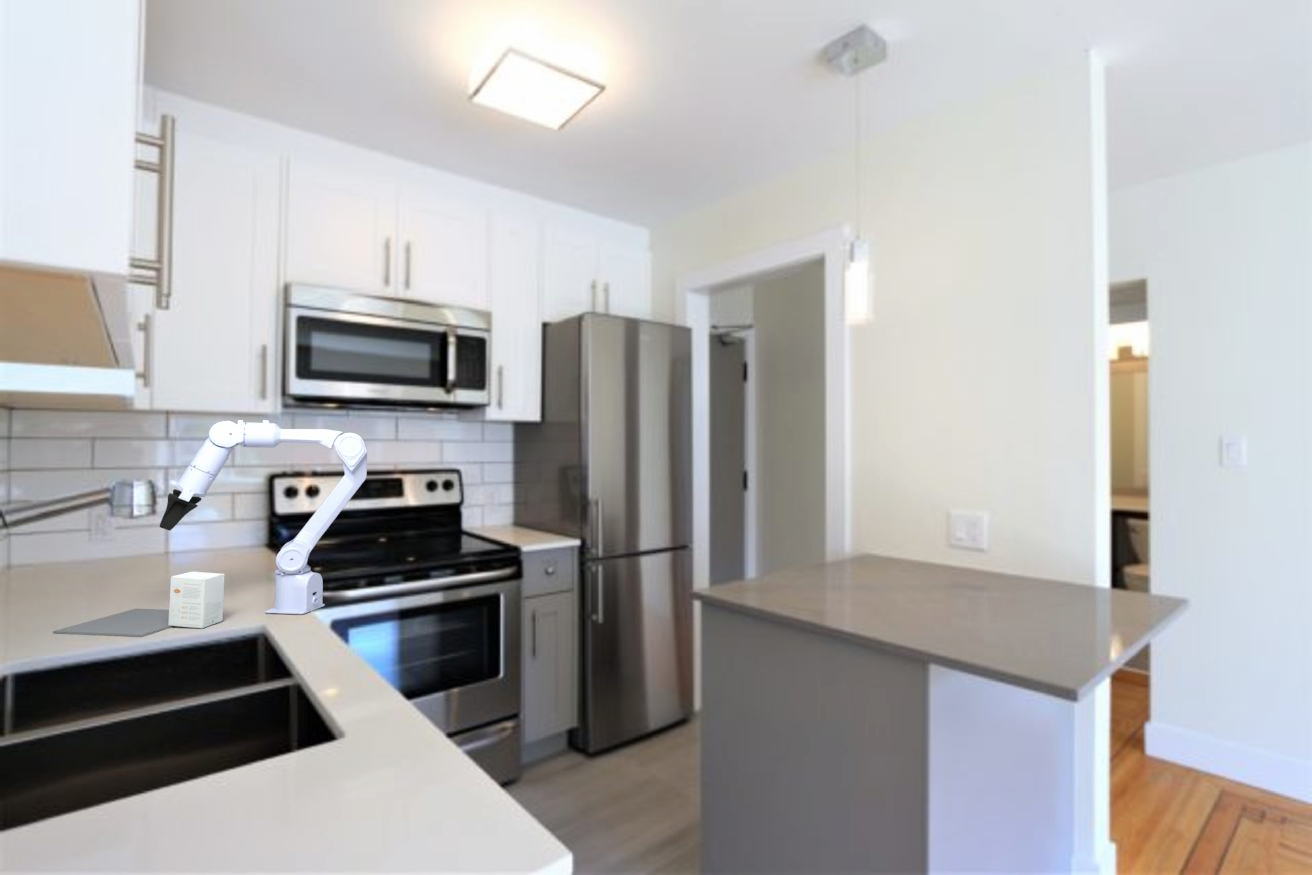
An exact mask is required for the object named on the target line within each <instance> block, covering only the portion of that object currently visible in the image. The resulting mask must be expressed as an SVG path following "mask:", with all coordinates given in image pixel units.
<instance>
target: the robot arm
mask: <svg viewBox="0 0 1312 875" xmlns="http://www.w3.org/2000/svg"><path fill="white" fill-rule="evenodd" d="M208 436H209V437H207V438H206V439H205V441H204V443H203V444H202V445H201V446H200V447H199V449H198V451H197V452H196V454H195V455H194V456H193V458H192V459H191V460H190V462H189V464H188V466H187V467H186V469H185V470H184V471H183V473H182V474H181V476H180V478H179V479H178V481H177V480H175V479H171V480H170V481H169V484H171V485H173V486H174V487H175V488H176V489H175V488H174V489H173V490H172V493H171V492H169V493H168V495H167V503H166V504H167V505H166V507H165V511H164V514H163V516H162V518H161V521H160V523H159V528H161V529H163V530H167V531H172V530H173V529H174V528H175V527H176V526H177V525H178V523H179V522H181V520H182V519H184V517H185V516H186V515H187V514H189V513H190V512H191V511H193V510H194V509H195V508H197V507H198V506H199V505H198V503H199V502H201V501H202V498H205V497H206V495H207V493H208V490H209V489H210V487H211V486H212V484H213V483H214V482H215V480H216V478H217V476H218V475H219V474H220V472H221V470H222V469H223V467H224V466H225V465H226V463H227V461H228V460H229V456H230V454H232V452H233V450H234V449H235V447H237V446H241V447H242V448H273V449H274V448H276V447H277V446H279V445H280V444H281V443H301V444H302V443H303V444H320V445H321V446H323V447H325V448H328V449H333V446H334V449H335V452H336V453H337V455H338V457H339V458H340V460H341V462H342V467H343V472H344V475H343V476H342V477H341V479H340V480H339V481H338V482H337V484H335V486H334V488H333V489H332V491H330V493H329V494H328V496H327V497H326V498H325V499H324V501H323V502H322V503H321V504H320V505H319V507H318V508H316V511H315V512H314V513H313V514H312V516H311V517H310V518H309V519H308V521H307V522H306V523H305V525H304V526H303V527H302V529H301V530H300V531H299V532H298V534H297V535H296V536H295V537H294V538H293V539H292V540H290V541H288V542H286V543H285V544H284V545H283V546H282V547H281V548H280V551H279V552H278V553H277V555H276V557H275V564H276V566H277V568H278V569H276V570H275V571H274V572H275V573H274V578H275V580H274V607H273V608H269V609H267V610H265V614H282V615H283V614H285V615H305V614H307V613H310V612H312V611H315V610H317V609H320V608H322V607H325V603H323V598H324V597H323V595H324V594H323V591H324V590H323V588H324V587H323V586H324V584H323V583H324V582H323V576H322V575H321V573H319V572H313V571H312V570H311V566H310V565H309V564H308V559H309V557H310V554H311V552H312V550H313V549H314V548H315V546H316V545H317V543H318V542H319V541H320V539H321V538H322V536H323V535H324V534H325V532H327V530H328V529H329V527H330V526H331V524H333V523H334V521H335V520H336V518H337V517H339V516H338V515H340V513H341V512H342V511H343V509H344V508H345V506H347V504H348V503H349V501H351V499H352V498H353V496H354V495H355V494H356V492H357V491H358V490H359V488H360V487H361V486H362V484H363V483H364V482H365V481H366V479H367V477H368V476H367V475H368V474H367V472H368V450H367V447H366V444H365V441H364V439H363V438H362V436H360V435H359V434H357V433H353V432H345V433H344V431H340V430H339V431H338V430H335V429H334V430H333V429H327V428H326V429H325V428H322V429H318V428H317V429H316V428H312V429H311V428H281V427H280V426H279V425H278V424H277V423H274V422H271V420H266V419H263V420H262V422H253V421H252V422H250V421H249V422H247V421H246V422H245V420H244V419H242V420H241V419H238V420H237V423H235V422H234V421H231V420H226V421H219V422H217V423H215V424H213V425H212V427H211V428H210V429H209V433H208Z"/></svg>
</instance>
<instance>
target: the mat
mask: <svg viewBox="0 0 1312 875" xmlns="http://www.w3.org/2000/svg"><path fill="white" fill-rule="evenodd" d="M168 620H169V609H162V608H161V609H159V608H158V609H155V608H133V609H129V610H125V611H122V612H118V613H115V614H111V615H108V616H103V617H100V618H96V619H93V620H90V621H89V620H88V621H86V622H82V623H77V624H75V625H71V626H67V627H64V628H59V629H56V630H53V631H52V634H65V635H68V634H69V635H90V636H91V635H92V636H109V637H110V636H114V637H115V636H116V637H133V638H134V637H136V638H138V637H139V638H143V637H145V636H148V635H152V634H155V633H158V632H160V631H164V630H168V629H170V627H171V628H173V627H172V626H169V625H168ZM167 628H168V629H167Z"/></svg>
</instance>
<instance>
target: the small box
mask: <svg viewBox="0 0 1312 875" xmlns="http://www.w3.org/2000/svg"><path fill="white" fill-rule="evenodd" d="M225 577H226V574H225V573H217V572H216V573H215V572H204V571H188V572H184V573H180V574H176V575H171V576H170V587H169V603H168V605H169V606H168V610H169V620H168V625H169V626H174V627H181V628H190V629H191V628H193V629H204V628H208V627H211V626H212V625H216V624H218V623H222V621H223V619H224V618H223V617H224V616H223V615H224V600H225V599H224V597H225Z"/></svg>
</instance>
